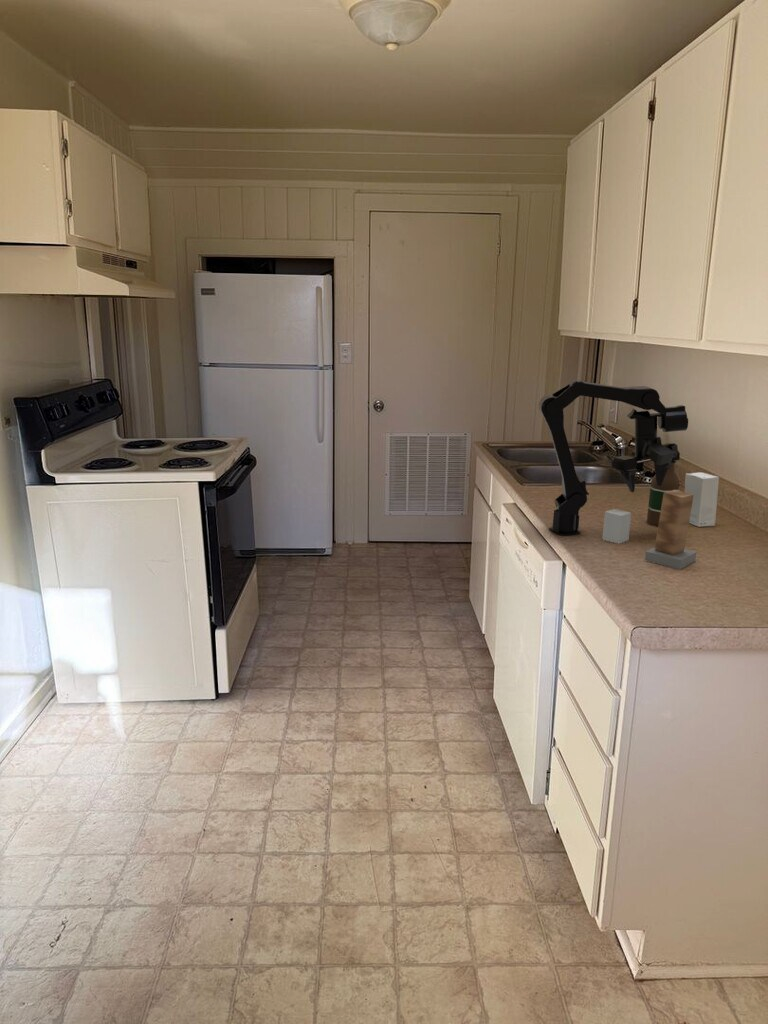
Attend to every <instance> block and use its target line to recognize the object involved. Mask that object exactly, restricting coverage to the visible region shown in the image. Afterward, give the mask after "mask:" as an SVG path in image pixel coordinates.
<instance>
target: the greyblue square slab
mask: <svg viewBox="0 0 768 1024" xmlns="http://www.w3.org/2000/svg"><path fill="white" fill-rule="evenodd" d="M696 558H697V551H694V550H690V549H686V548H684V552H682V553H679V554H676V555H673V556H672V555H669V554H666V553H663V552H661V551H658V550H655V546H654V547H652V548H650V549H648V550H646V551H645V555H644V561H645V560H647V561H646V562H648V561H650V562H649V563H651V562H654V563H653V564H655V563H657V564H656V565H659V564H661V565H660V566H663V565H664V567H667V566H668V568H671V569H676V570H682V569H685V567H688V566H689V565H691V564H693V563H695V562H696V561H697V560H696Z"/></svg>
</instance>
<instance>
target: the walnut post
mask: <svg viewBox="0 0 768 1024" xmlns="http://www.w3.org/2000/svg"><path fill="white" fill-rule="evenodd" d="M693 496H694V495H693V494H690V493H686V492H684V491H681V490H679V491H678V490H672V491H668V492H664V494H663V500H662V506H661V512H660V519H659V525H658V526H657V531H656V539H655V545H654V547H655V550H658V551H661V552H663V553H666V554H669V555H672V556H673V555H676V554H679V553H682V552H684V549H686V547H685V546H686V541H687V535H688V530H689V524H690V523H689V519H690V513H691V508H692V502H693Z"/></svg>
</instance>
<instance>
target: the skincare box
mask: <svg viewBox="0 0 768 1024" xmlns="http://www.w3.org/2000/svg"><path fill="white" fill-rule="evenodd" d="M719 482H720V476H716V475H713V474H710V473H706V472H702V471H701V472H689V473H688V472H687V473H685V480H684V489H683V490H684V491H683V492H686V493H690V494H693V495H694V496H693V502H692V508H691V513H690V519H689V524H691V525H692V526H696V527H698V528H701V527H715V526H716V517H717V507H718V506H717V505H718V504H717V503H718V494H719V493H718V492H719Z"/></svg>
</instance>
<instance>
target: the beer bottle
mask: <svg viewBox="0 0 768 1024" xmlns="http://www.w3.org/2000/svg"><path fill="white" fill-rule="evenodd" d="M668 444H672V442H671V443H669V442H668V443H662V445H667V446H668ZM649 488H650V489H649V497H648V506H647V513H646V515H647V516H646V522H647V523H648V524H649V525H650V526H654V527H658V525H659V519H660V512H661V506H662V500H663V494H664V492H668V491H672V490H678V491H680V482H679V478H678V475H677V474H676V472H675V463H674V464H672V465H671V466H670V467H669V468H668V470H667V472H666V475H665V477H664V480H663V482H662V485H661V486H658V485H657V481H656V474H654V476H653V477H652V479H651V483H650V487H649Z"/></svg>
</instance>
